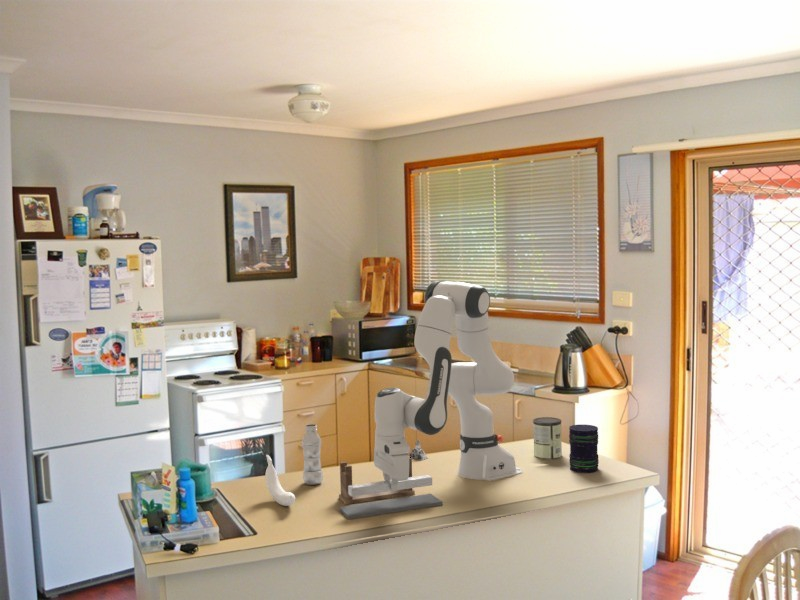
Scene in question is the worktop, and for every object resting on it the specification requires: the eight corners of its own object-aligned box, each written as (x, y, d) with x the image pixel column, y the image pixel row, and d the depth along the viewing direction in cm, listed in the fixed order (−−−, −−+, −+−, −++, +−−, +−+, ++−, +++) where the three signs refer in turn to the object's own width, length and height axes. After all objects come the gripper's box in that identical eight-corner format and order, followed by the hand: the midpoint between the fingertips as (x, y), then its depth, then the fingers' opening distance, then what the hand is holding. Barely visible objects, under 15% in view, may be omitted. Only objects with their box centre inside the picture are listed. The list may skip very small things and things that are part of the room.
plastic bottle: (319, 487, 262) (318, 427, 261) (300, 486, 263) (298, 427, 262) (325, 481, 268) (323, 423, 267) (306, 481, 270) (304, 423, 269)
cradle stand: (406, 488, 258) (405, 453, 258) (414, 494, 252) (413, 458, 251) (338, 498, 250) (337, 462, 249) (345, 504, 243) (344, 467, 243)
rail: (428, 482, 245) (428, 474, 245) (432, 485, 242) (432, 477, 242) (348, 493, 235) (348, 485, 235) (351, 496, 233) (351, 488, 232)
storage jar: (588, 465, 281) (587, 423, 280) (604, 471, 272) (604, 428, 271) (563, 468, 278) (563, 426, 277) (579, 475, 269) (579, 431, 268)
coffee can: (537, 453, 300) (536, 416, 299) (564, 455, 295) (564, 417, 295) (530, 459, 290) (529, 421, 289) (558, 462, 286) (557, 423, 285)
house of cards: (440, 459, 295) (440, 439, 295) (424, 464, 289) (424, 443, 289) (423, 455, 302) (422, 435, 301) (407, 460, 296) (406, 439, 295)
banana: (288, 514, 236) (287, 465, 235) (261, 499, 251) (259, 453, 250) (303, 510, 238) (301, 462, 238) (275, 496, 254) (273, 450, 253)
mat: (430, 496, 249) (430, 493, 249) (442, 504, 241) (442, 501, 241) (339, 510, 238) (339, 507, 238) (348, 519, 230) (348, 516, 230)
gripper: (368, 437, 246) (369, 480, 247) (392, 451, 228) (393, 498, 228) (387, 434, 249) (388, 478, 250) (412, 448, 230) (413, 495, 231)
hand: (391, 488), depth 239 cm, fingers closed on rail, 3 cm apart
